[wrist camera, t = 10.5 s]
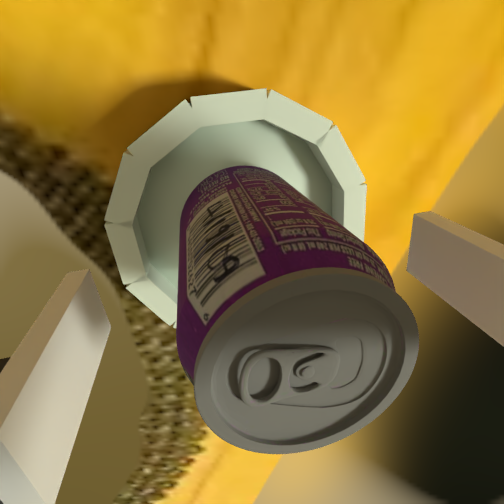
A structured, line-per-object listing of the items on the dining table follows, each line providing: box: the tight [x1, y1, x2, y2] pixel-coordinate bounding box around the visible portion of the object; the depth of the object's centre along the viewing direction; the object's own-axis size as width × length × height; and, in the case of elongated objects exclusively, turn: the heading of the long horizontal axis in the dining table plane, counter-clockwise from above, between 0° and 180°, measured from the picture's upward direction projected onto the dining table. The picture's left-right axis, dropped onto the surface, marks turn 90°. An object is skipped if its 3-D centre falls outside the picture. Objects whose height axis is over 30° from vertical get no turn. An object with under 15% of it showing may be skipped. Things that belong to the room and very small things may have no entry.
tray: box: [104, 88, 367, 328], centre depth 19 cm, size 14×14×2 cm
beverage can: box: [176, 165, 419, 454], centre depth 14 cm, size 7×7×12 cm
